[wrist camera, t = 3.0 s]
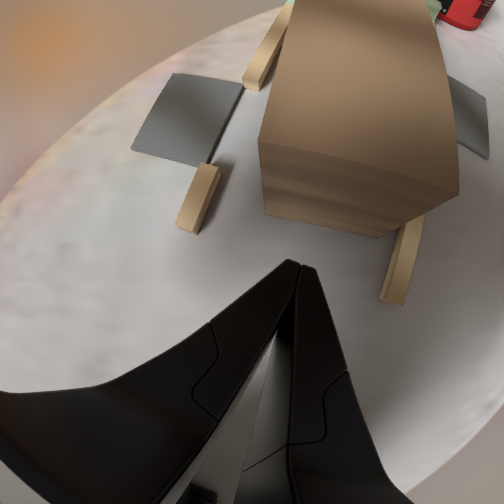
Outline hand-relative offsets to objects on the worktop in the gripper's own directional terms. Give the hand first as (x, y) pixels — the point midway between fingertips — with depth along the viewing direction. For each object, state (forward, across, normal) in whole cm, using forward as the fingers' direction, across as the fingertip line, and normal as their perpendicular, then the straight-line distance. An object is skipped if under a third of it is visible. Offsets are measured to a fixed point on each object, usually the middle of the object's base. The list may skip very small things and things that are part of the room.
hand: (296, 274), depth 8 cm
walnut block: (+12, 0, -2) cm, 12 cm away
